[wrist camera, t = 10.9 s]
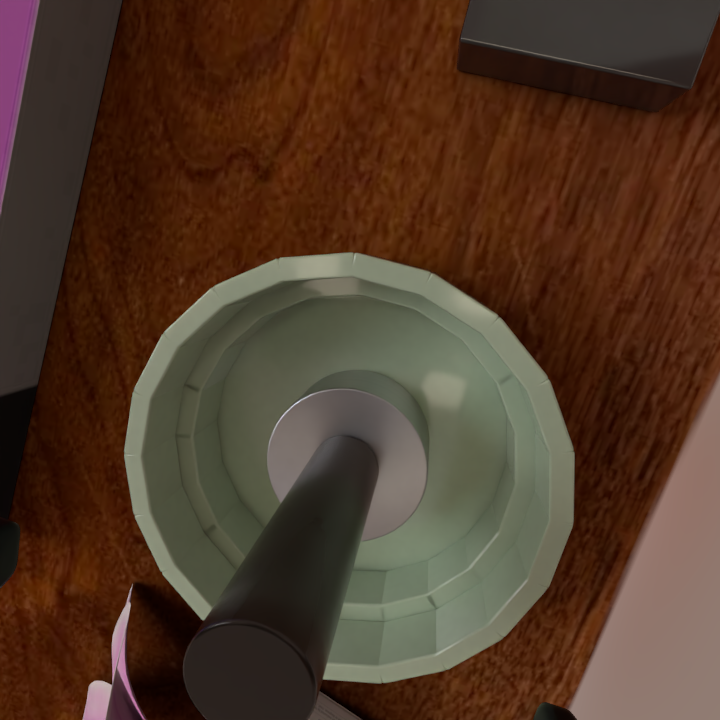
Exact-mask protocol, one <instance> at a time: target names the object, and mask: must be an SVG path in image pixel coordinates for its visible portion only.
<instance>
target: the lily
mask: <svg viewBox="0 0 720 720" xmlns="http://www.w3.org/2000/svg"><path fill="white" fill-rule="evenodd" d="M132 587H133V584H132ZM132 587H131V589H130V593H129V596H128V599H127V603H126V606H125V608H124V609H123V611H122V613H121V615H120V617H119V619H118V621H117V624H116V627H115V630H114V633H113V638H112V668H113V677H112V685H110V684H108V683H106V682H104V681H94V682H92V683H91V684H90V685H89V689H88V696H87V702H86V707H85V711H84V716H83V720H147V719H146V717H145V715H144V713H143V711H142V709H141V707H140V705H139V703H138V701H137V699H136V697H135V694H134V691H133V688H132V685H131V682H130V679H129V672H128V665H127V630H128V619H129V612H130V607H131V604H130V602H131V594H132Z"/></svg>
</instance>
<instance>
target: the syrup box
mask: <svg viewBox="0 0 720 720" xmlns="http://www.w3.org/2000/svg"><path fill="white" fill-rule="evenodd" d="M308 720H362V719H361V718H359V717H358V716H356V715H355V714H353V713H352V712H350V711H349V710H347V709H346V708H344V707H343V706H341V705H340V704H338V703H336V702H335V701H333V700H332V699H330V698H329V697H328V696H326V695H325V694H323V693H321V692H320V691H319V695H318V698H317V702H316V705H315V708H314V711H313V713H312V714H311V716H310V718H309V719H308Z"/></svg>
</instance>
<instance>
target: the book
mask: <svg viewBox="0 0 720 720" xmlns="http://www.w3.org/2000/svg"><path fill="white" fill-rule="evenodd" d="M121 4H122V0H0V517H1V518H4V519H7V520H8V517H9V512H10V507H11V503H12V498H13V494H14V489H15V485H16V480H17V476H18V471H19V467H20V462H21V458H22V453H23V449H24V444H25V439H26V435H27V430H28V426H29V421H30V417H31V412H32V408H33V403H34V399H35V394H36V390H37V385H38V381H39V376H40V371H41V367H42V362H43V358H44V353H45V349H46V344H47V340H48V335H49V331H50V326H51V322H52V317H53V312H54V308H55V303H56V299H57V294H58V290H59V285H60V281H61V276H62V272H63V267H64V263H65V258H66V254H67V249H68V244H69V240H70V235H71V231H72V226H73V222H74V217H75V213H76V208H77V204H78V199H79V195H80V190H81V186H82V181H83V176H84V172H85V167H86V163H87V158H88V154H89V149H90V145H91V140H92V136H93V131H94V127H95V122H96V118H97V113H98V108H99V104H100V99H101V95H102V90H103V86H104V81H105V77H106V72H107V68H108V63H109V59H110V54H111V49H112V45H113V40H114V36H115V31H116V27H117V22H118V18H119V13H120V9H121Z"/></svg>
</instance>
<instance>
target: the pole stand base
mask: <svg viewBox="0 0 720 720" xmlns="http://www.w3.org/2000/svg"><path fill="white" fill-rule="evenodd" d="M719 14H720V0H470V1H469V5H468V9H467V12H466V16H465V20H464V24H463V28H462V31H461V35H460V39H459V49H458V59H457V69H458V70H460V71H464V72H469V73H474V74H478V75H483V76H488V77H492V78H497V79H502V80H506V81H511V82H516V83H521V84H525V85H530V86H535V87H539V88H544V89H549V90H553V91H558V92H563V93H567V94H572V95H577V96H581V97H586V98H591V99H595V100H600V101H605V102H609V103H614V104H619V105H623V106H628V107H633V108H637V109H642V110H647V111H651V112H659V111H660V110H662V109H663V108H664V107H666V106H667V105H669V104H670V103H672V102H673V101H674V100H676V99H677V98H679V97H680V96H682V95H683V94H684V93H686V92H687V91H689V90H690V89H691V88H692V87H693V84H694V81H695V79H696V76H697V73H698V71H699V68H700V65H701V62H702V60H703V57H704V54H705V52H706V49H707V46H708V43H709V41H710V38H711V35H712V33H713V30H714V27H715V25H716V22H717V19H718V16H719Z"/></svg>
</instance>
